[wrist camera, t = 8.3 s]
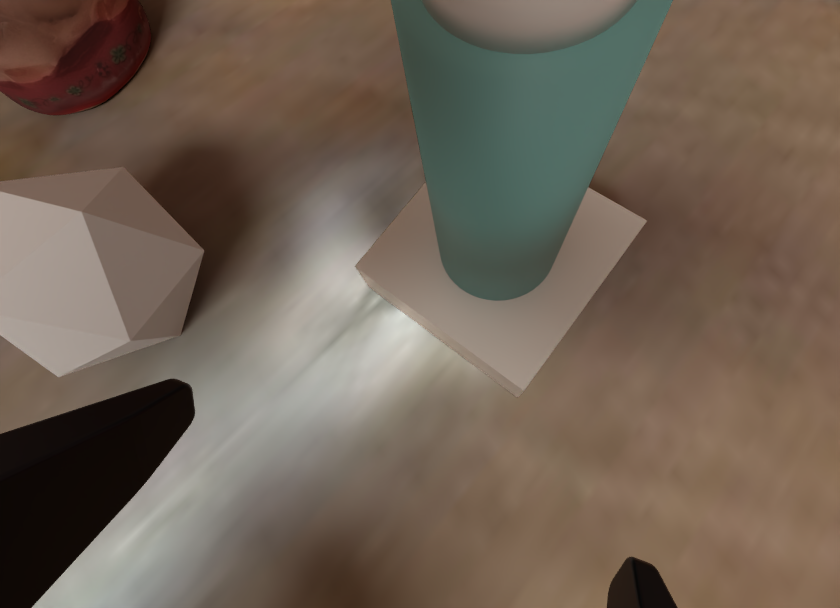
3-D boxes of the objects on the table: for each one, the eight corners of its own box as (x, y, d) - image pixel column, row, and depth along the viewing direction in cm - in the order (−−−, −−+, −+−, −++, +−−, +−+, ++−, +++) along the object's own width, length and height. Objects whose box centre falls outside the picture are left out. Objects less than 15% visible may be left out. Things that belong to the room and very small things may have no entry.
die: (87, 241, 27) (-147, 297, 18) (153, 126, 23) (-103, 123, 14) (190, 346, 28) (13, 449, 19) (271, 250, 24) (98, 322, 15)
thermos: (548, 309, 19) (697, 49, 6) (429, 290, 20) (347, 27, 7) (562, 201, 20) (711, -199, 7) (450, 187, 21) (413, -195, 8)
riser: (517, 397, 21) (523, 390, 18) (369, 287, 23) (354, 266, 20) (625, 248, 22) (647, 220, 19) (475, 159, 25) (475, 122, 22)
